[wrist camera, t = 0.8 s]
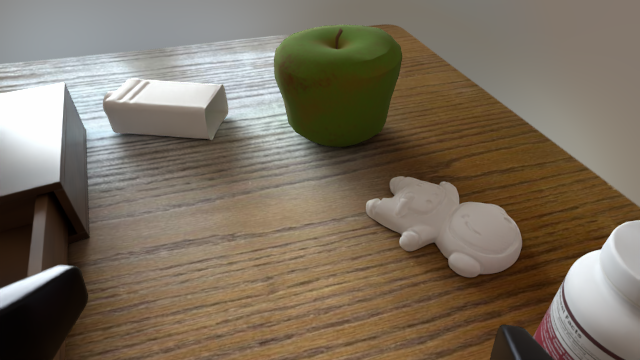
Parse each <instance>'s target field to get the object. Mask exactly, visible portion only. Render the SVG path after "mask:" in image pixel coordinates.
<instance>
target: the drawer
mask: <svg viewBox="0 0 640 360" xmlns="http://www.w3.org/2000/svg"><path fill="white" fill-rule="evenodd" d="M67 249H68V216H67V215H66V213H65V211H64V209H63V207H62V206H61V204H60V202H59V200H58V198H57V197H56V195H55V193H54V191H52V192H48V193H44V194H40V195H36V196H32V197H28V198H25V199H21V200H17V201H13V202H9V203H5V204H1V205H0V288H2V287H4V286H7V285H9V284H12V283H14V282H17V281H19V280H22V279H24V278H27V277H29V276H32V275H34V274H37V273H39V272H42V271H44V270H47V269H49V268H52V267H54V266H57V265H67ZM65 347H66V339H65V341H64V342H63V344H62V346H61V347H60V349H59V351H58V352H57V354H56V356H55V357H54V359H53V360H65Z"/></svg>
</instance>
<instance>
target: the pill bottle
mask: <svg viewBox="0 0 640 360" xmlns="http://www.w3.org/2000/svg"><path fill="white" fill-rule="evenodd" d="M533 338H534V339H535V340H536V341H537V342H538V343H539V344H540V345H541V346H542V347H543V348H544V349H545V350H546V351H547V352H548V353H549V354H550V355H551V356H552V357H553V358H554V359H555V360H640V220H638V221H631V222H627V223H624V224H622V225H620V226H618V227H617V228H616V229H615V230H614V231H613V232H612V234H611V235H610V237H609V238H608V240H607V241H606V242H605V244H604V245H603V247H602V249H601V250H597V251H593V252H590V253H588V254H586V255H584V256H582V257H581V258H580V259H578V260H577V261H576V262H575V263H574V264H573V265H572V267H571V268H570V270H569V272H568V274H567V275H566V277H565V279H564V281H563V283H562V285H561V286H560V288H559V290H558V292H557V294H556V296H555V298H554V299H553V301H552V303H551V305H550V307H549V308H548V310H547V312H546V314H545V316H544V318H543V320H542V321H541V323H540V325H539V327H538V329H537V331H536V333H535V334H534V336H533Z"/></svg>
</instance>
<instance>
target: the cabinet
mask: <svg viewBox="0 0 640 360" xmlns="http://www.w3.org/2000/svg"><path fill="white" fill-rule="evenodd" d="M52 191H54V193H55V195H56V197H57V198H58V200H59V202H60V204H61V206H62V207H63V209H64V211H65V213H66V215H67V216H68V244H69V243H72V242H76V241H79V240H82V239H86V238H89V237H90V236H89V208H88V181H87V154H86V130H85V128H84V125H83V123H82V121H81V119H80V116H79V114H78V112H77V109H76V107H75V105H74V103H73V100H72V98H71V96H70V93H69V91H68V89H67V87H66V84H65V83H59V84H53V85H48V86H42V87H37V88H31V89H26V90H20V91H15V92H9V93H4V94H0V205H1V204H5V203H9V202H13V201H17V200H21V199H25V198H28V197H32V196H36V195H40V194H44V193H48V192H52Z"/></svg>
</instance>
